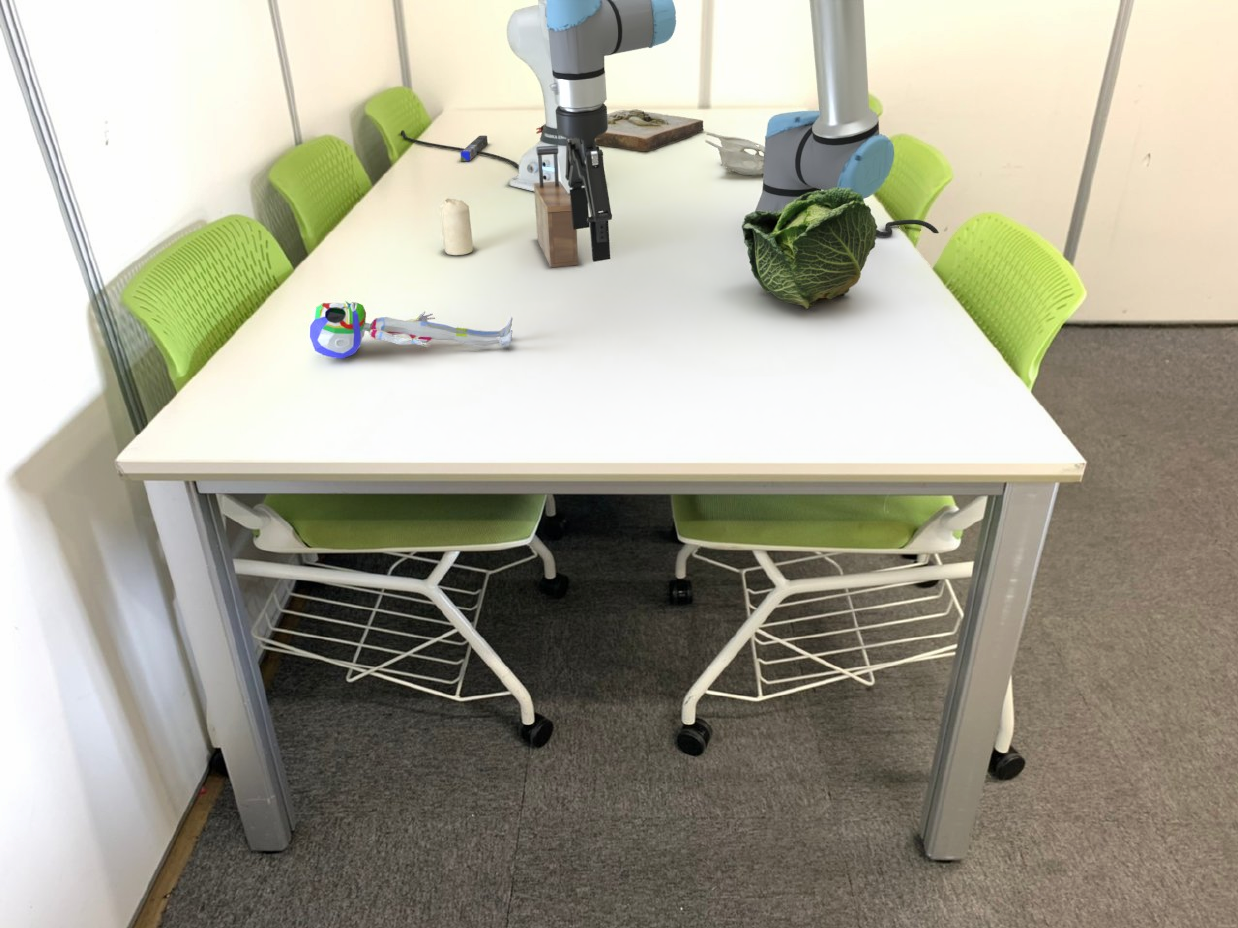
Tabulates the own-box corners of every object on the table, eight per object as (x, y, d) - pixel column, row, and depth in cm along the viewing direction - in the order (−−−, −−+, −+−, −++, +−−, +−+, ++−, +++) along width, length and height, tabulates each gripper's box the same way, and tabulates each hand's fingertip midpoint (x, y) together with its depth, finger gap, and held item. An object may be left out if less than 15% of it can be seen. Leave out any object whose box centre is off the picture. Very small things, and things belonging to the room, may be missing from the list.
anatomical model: (707, 129, 226) (808, 127, 222) (707, 166, 231) (805, 165, 227) (703, 143, 213) (809, 141, 210) (703, 182, 218) (807, 181, 215)
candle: (478, 247, 177) (472, 197, 172) (465, 256, 173) (459, 205, 168) (453, 245, 179) (447, 194, 174) (439, 254, 174) (433, 202, 169)
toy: (513, 328, 132) (301, 311, 127) (509, 379, 136) (304, 364, 132) (513, 302, 141) (314, 285, 136) (509, 351, 145) (317, 336, 140)
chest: (537, 240, 181) (534, 189, 175) (563, 238, 182) (560, 187, 176) (550, 267, 168) (547, 213, 162) (578, 265, 169) (576, 210, 163)
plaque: (647, 125, 237) (559, 112, 252) (647, 153, 241) (560, 139, 256) (706, 107, 258) (622, 97, 273) (705, 133, 262) (622, 121, 277)
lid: (533, 188, 176) (530, 143, 171) (560, 186, 177) (558, 141, 172) (547, 212, 162) (544, 164, 158) (576, 210, 163) (574, 162, 159)
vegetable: (769, 324, 161) (717, 226, 153) (855, 264, 162) (809, 164, 154) (822, 342, 142) (766, 232, 135) (919, 274, 144) (869, 162, 136)
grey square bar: (487, 135, 252) (468, 152, 235) (487, 143, 253) (469, 161, 236) (479, 135, 252) (460, 152, 235) (480, 143, 253) (461, 161, 236)
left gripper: (601, -11, 151) (603, 77, 158) (564, -18, 167) (567, 63, 175) (565, -10, 149) (569, 80, 156) (531, -16, 166) (536, 65, 173)
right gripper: (539, 87, 139) (552, 219, 152) (574, 132, 120) (586, 278, 133) (585, 82, 141) (594, 212, 153) (628, 124, 121) (635, 270, 134)
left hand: (568, 71), depth 166 cm, fingers open, 8 cm apart
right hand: (591, 243), depth 143 cm, fingers open, 13 cm apart
